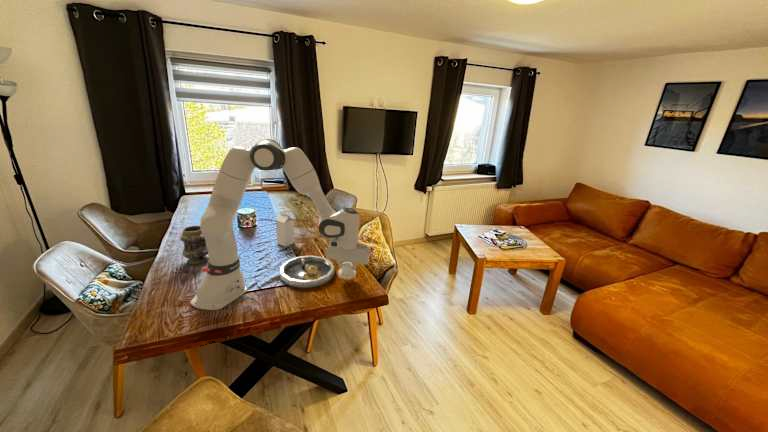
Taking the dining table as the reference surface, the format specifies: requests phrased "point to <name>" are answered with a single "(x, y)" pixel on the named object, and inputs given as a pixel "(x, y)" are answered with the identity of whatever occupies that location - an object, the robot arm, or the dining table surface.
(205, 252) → the apothecary jar
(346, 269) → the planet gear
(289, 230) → the milk carton
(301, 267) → the grey round tray
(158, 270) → the dining table surface
